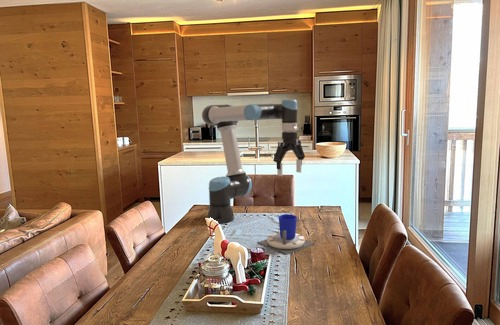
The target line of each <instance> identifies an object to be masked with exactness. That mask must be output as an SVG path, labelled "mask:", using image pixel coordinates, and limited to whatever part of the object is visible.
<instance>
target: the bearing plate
mask: <svg viewBox="0 0 500 325" xmlns="http://www.w3.org/2000/svg"><path fill="white" fill-rule="evenodd" d="M257 243H258V244H259V245H261V246H263V245H264V247H266V248H268V247H269V249H271V250H273V249H274V251H276V252H278V253H281V254H283V253H284V255H286V254H287V255H289V254H291V253H294V252H297V251H299V250H302V249H303V250H304V249H305V248H308V247H310V246H314V245H315V243H314V242H313V241H310V240H308V239H307V240H306V239H305V244H304V245H303V246H301V247H299V248H295V249H279V248H275V247H272V246H270V245H269V244H268V243H267V239H263V240H260V241H258V242H257Z"/></svg>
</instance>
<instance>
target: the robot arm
mask: <svg viewBox="0 0 500 325" xmlns="http://www.w3.org/2000/svg"><path fill="white" fill-rule="evenodd" d="M201 117H202V118H201V119H202V120H203V122H204V123H205V124H207V125H208V126H216V130H217V131H219V132H220V137H221V142H222V147H223V148H222V149H223V154H224V158H225V164H226V170H227V173H226V175H225V176H217V177H214V178H211V179H210V181H209V182H208V192H209V193H208V194H209V196H208V198H209V202H208V203H209V208H208V212H207V214H206V219H207V218H210V217H211V218H213V219H214V220H216V221H218V222H219V223H218V224H226V223H230V222H233V221H234V220H235V216H234V212H233V208H232V206H231V200H232V199H236V198H242V197H244V196H248V195H249V194H250V193H251V191H252V188H253V187H252V186H253V183H252V179H251V178H250V176H249V175H247V174H246V171H245V170H243V166H242V160H241V155H240V151H239V150H240V149H239V145H238V144H239V143H238V139H237V138H238V137H237V133H236V128H237V127H238V125H237V124H238V123H239V122H240V121H242V122H243V121H260V120H281V131H282V132H281V139H282V141H278V142H277V147H276V151H275V154H274V156H273V160H272V161H273V162H275V163H276V169H277V170H276V171H277V176H278V177H283V162H282V161H283V159H284V157H285V156H286V154H287V153H288V152H290V151H292V152H293V154H294V155H295V157H296V160H295V161H296V163H295V164H296V169H295V170H296V173H299V174H300V173H302V165H303V160H304V159H305V158H306V155H305V152H304V150H303V146H302V142H301V140H299V139H298V132H297V131H298V101H297V99H282V100H281V103H266V104H265V103H264V104H263V103H261V104H259V103H258V104H257V103H256V104H255V103H251V104H245V105H233V104H211V105H207V106H206V107H204V108H203V110H202V112H201Z"/></svg>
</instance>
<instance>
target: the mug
mask: <svg viewBox="0 0 500 325" xmlns="http://www.w3.org/2000/svg"><path fill="white" fill-rule="evenodd" d="M297 220H298V216H296V215H295V214H288V213H285V214H280V215H279V216H278V227H279V232H280V236H281V238H282V239H283V230H286V240H291V239H294V238H295V234H296V233H297V232H296V231H297V223H298V222H297Z"/></svg>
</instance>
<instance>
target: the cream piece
mask: <svg viewBox="0 0 500 325" xmlns="http://www.w3.org/2000/svg"><path fill="white" fill-rule="evenodd" d="M305 240H306V238H305V236H304V235H302V234H301V233H300V234H299V233H297V232H296V234H295V238H294V239H291V240H286V230H283V239H282V238H281V236H280V231H279V232H274V233H272V234H270V235H267V243H268V244H269V245H270V246H272V247H275V248H279V249H295V248H299V247H301V246H303V245H304V244H305Z"/></svg>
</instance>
